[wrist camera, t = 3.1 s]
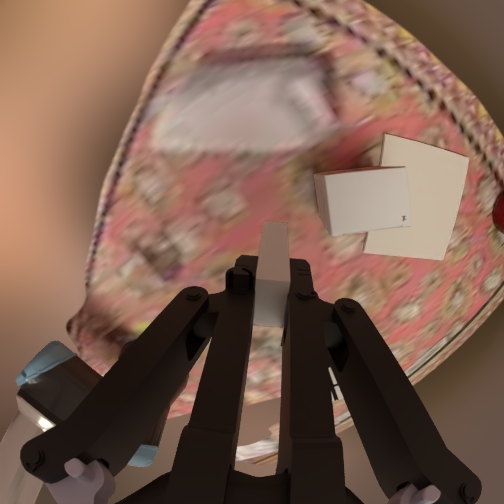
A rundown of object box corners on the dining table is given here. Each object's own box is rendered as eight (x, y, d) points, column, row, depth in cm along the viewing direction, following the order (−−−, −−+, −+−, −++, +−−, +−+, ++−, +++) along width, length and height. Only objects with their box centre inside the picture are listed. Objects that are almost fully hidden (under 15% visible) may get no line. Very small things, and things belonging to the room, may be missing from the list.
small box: (374, 166, 30) (409, 165, 20) (379, 210, 32) (414, 227, 22) (311, 172, 32) (322, 173, 22) (318, 218, 33) (331, 238, 23)
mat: (362, 250, 36) (363, 252, 35) (383, 133, 28) (385, 133, 28) (441, 258, 35) (442, 260, 35) (466, 157, 28) (469, 158, 27)
